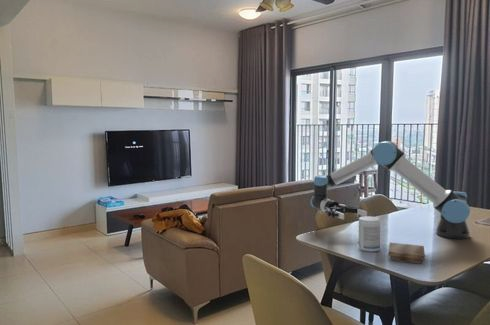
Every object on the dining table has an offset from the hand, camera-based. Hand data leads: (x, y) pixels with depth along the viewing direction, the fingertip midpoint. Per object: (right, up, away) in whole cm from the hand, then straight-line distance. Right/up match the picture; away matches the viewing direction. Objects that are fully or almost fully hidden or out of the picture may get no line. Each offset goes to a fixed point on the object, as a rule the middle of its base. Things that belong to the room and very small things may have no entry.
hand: (355, 215), depth 181 cm
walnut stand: (+16, -16, -20) cm, 30 cm away
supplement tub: (+4, -15, -8) cm, 17 cm away
